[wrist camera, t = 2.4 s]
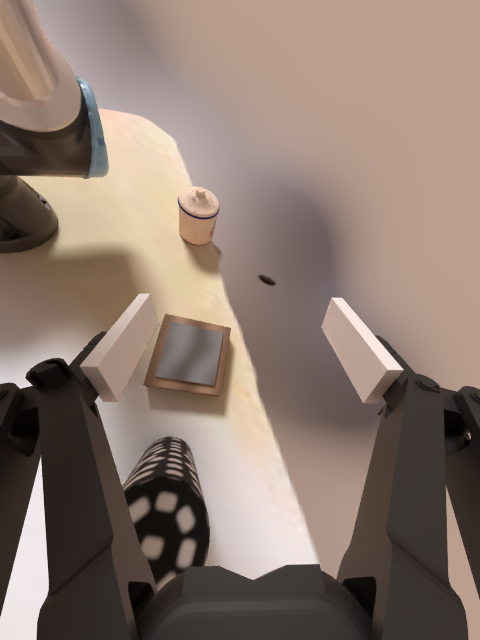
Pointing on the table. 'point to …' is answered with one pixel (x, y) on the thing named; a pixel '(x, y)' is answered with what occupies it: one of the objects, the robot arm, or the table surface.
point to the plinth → (189, 356)
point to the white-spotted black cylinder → (168, 509)
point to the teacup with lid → (197, 214)
